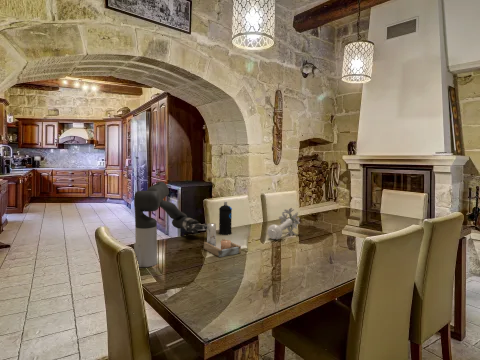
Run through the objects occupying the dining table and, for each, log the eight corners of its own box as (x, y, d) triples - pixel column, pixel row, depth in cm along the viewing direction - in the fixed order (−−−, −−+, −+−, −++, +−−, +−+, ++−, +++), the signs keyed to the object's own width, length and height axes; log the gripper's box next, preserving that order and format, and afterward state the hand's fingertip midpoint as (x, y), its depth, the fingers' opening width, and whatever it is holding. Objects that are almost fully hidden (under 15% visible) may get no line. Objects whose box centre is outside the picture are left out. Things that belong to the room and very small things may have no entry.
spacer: (224, 254, 159) (224, 243, 158) (218, 252, 163) (219, 240, 162) (232, 253, 162) (232, 241, 161) (227, 250, 166) (227, 239, 165)
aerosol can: (220, 235, 197) (220, 203, 195) (217, 232, 205) (217, 201, 203) (233, 234, 199) (233, 202, 197) (230, 231, 207) (230, 200, 205)
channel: (219, 257, 155) (219, 250, 155) (204, 248, 168) (204, 242, 168) (240, 253, 162) (240, 246, 162) (223, 245, 175) (224, 239, 175)
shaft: (209, 247, 171) (209, 225, 170) (205, 245, 175) (205, 223, 174) (217, 246, 174) (217, 224, 173) (213, 244, 178) (213, 222, 177)
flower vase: (279, 252, 186) (302, 234, 203) (280, 225, 179) (303, 208, 196) (262, 244, 194) (285, 227, 211) (262, 217, 187) (286, 202, 204)
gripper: (180, 220, 189) (192, 225, 176) (201, 217, 198) (214, 222, 184) (180, 232, 190) (192, 238, 177) (201, 229, 198) (214, 235, 185)
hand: (203, 230), depth 181 cm, fingers open, 8 cm apart
